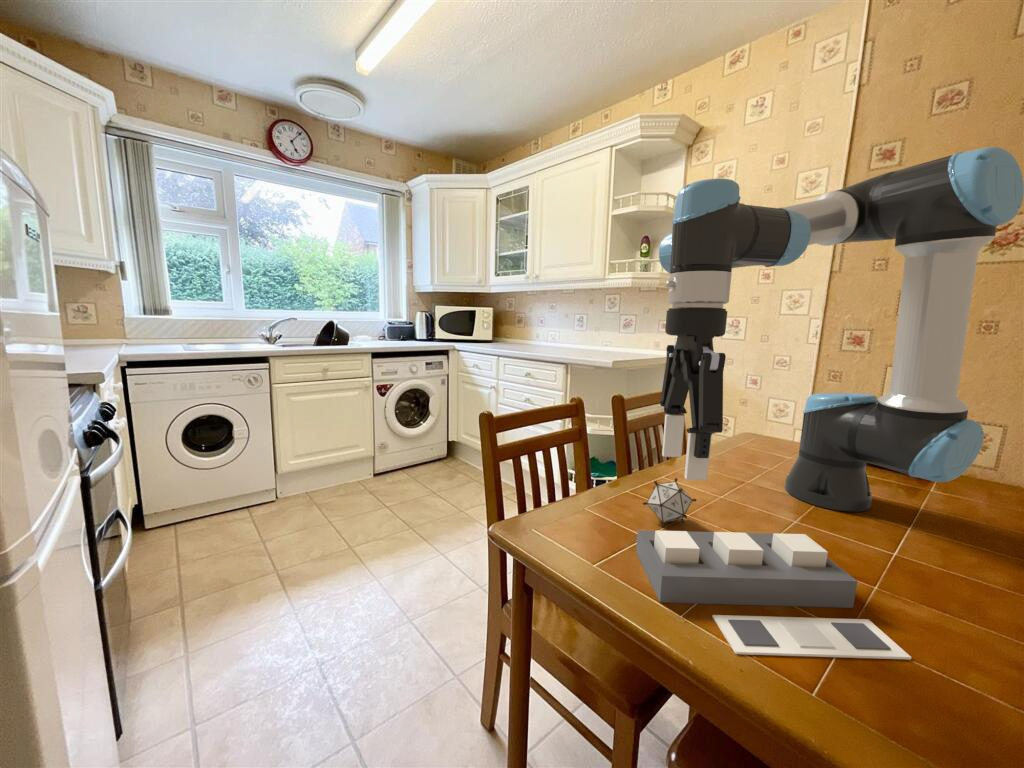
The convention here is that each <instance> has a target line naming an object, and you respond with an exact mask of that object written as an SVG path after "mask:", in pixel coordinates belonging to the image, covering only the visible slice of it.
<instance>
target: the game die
mask: <svg viewBox="0 0 1024 768" xmlns="http://www.w3.org/2000/svg"><path fill="white" fill-rule="evenodd" d="M678 480H679V479H678V477H675V478H674V481H669V482H668V481H667V482H663V483H662V482H661V483H660V482H659V483H658V482H657V480H653V484H654V485H655V486H653V488H652V489H653V490H652V491H651V494H649V497H648V499H647V501H646V502H643V503H642V505H644V506H645V505H646V506H648V508H649V509H650V510H652V512H653V513H654V514H655V516H656V517H657V518H658V519H659V520H660V521H661V523H660V528H662V527H664V525H665V523H666V524H667V523H670V522H678V521H680V522H681V523H683V524H684V523H685V520H686V519H688V515H686V513H687V512H688V510H689V508H690V506H691V504H692V503H693V502H697V501H698V499H696V498H692V497H691V496H689V494H688V493H687V492H686V491H685V490H684V488H682V487H681V485H680V484H679V483H678Z"/></svg>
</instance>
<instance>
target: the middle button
mask: <svg viewBox="0 0 1024 768" xmlns="http://www.w3.org/2000/svg"><path fill="white" fill-rule="evenodd" d="M713 532H714V538H713V547H712V548H713V549H714V551H715V552H716V553H717V554H718V556H719V557H720V558H721V559H722V560H723V562H724V563H725V564H726V565H758V566H762V559H763V551H764V550H763V549H762V548H761V547H760V546H759V545H758V544H757V543H756V542H755V541H754V540H753V539H752V538H751V537H749V536H748V535H747V534H746V533H747V532H732V531H726V532H725V531H713Z"/></svg>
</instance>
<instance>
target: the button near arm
mask: <svg viewBox="0 0 1024 768" xmlns="http://www.w3.org/2000/svg"><path fill="white" fill-rule="evenodd" d="M772 534H773V540H772V547H771V549H772V550H773V551H774V552H775V553H777V554H778V555H779V556H780V557H781V558H782V559H783V560H784V561H785V562H786V563H787V564H788V565H789V566H796V567H826V561H827V557H828V554H829V552H828V551H827V550H826V549H825V548H823V547H822V546H821V545H820V544H818V543H817V542H816V541H814V540H813V539H812V538H811V537H809V536H808V535H807V534H806V533H778V532H777V533H772Z"/></svg>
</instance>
